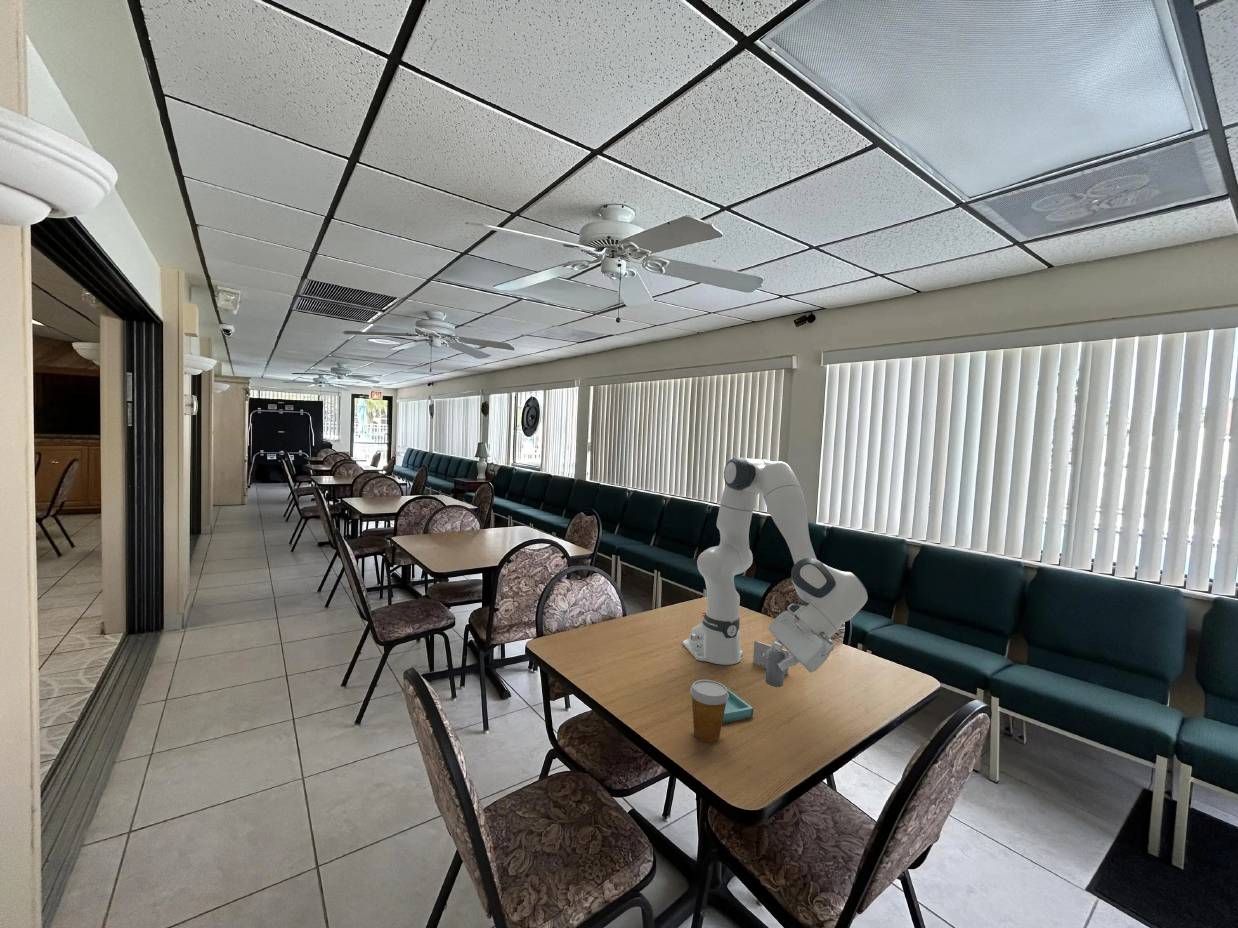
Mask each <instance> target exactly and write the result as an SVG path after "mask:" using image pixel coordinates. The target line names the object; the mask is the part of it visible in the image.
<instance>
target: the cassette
mask: <svg viewBox="0 0 1238 928" xmlns="http://www.w3.org/2000/svg"><path fill="white" fill-rule="evenodd" d="M771 645H772V644H768V643H764V642H761V641H758V640H755V641H754V642H753V654H752V655H753V656H752V664H754V665H757V666H758V667H761V668H764V669H766V668H767V659H768V654H767V653H766V652H767V651H768V650H769V649H770V648H771ZM782 651H783V652H784V654H785V656H786V659H787V658H789V657H788V656H789V655H790V654H791V653H790V652H789V651H788V650H787V649H784V648H782ZM788 674H789V667H787V668H786V669H785V673H784V675H788Z"/></svg>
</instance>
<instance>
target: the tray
mask: <svg viewBox="0 0 1238 928" xmlns="http://www.w3.org/2000/svg"><path fill="white" fill-rule="evenodd" d="M727 692H728V694H729V698H728V700H727V701H726V706H725V711H724V716H723V722H722V724H726V723H731V722H735V721H740V720H745V719H748V718H749V719H751V718H753V716H754V707H752V706H751V705H750V704H749V703H748V702H746V701H745V700H743V699H742V698H741V697H739V695H737V694H735V693H734V692H733V691H731V690H730V689H729V688H727Z"/></svg>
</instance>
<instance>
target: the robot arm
mask: <svg viewBox="0 0 1238 928" xmlns="http://www.w3.org/2000/svg"><path fill="white" fill-rule="evenodd" d="M723 479H724V482H725V486H724V489H723V492H722V495H721V499H720V504H719V509H718V515H717V518H716V528H717V529H718V530H719V535H720V536H719V538H720V541H719V544H718V545H715V546H710V547H708V548H707V549H705V550H703V552H701V553H700V554H699V555H698V557H697V560H696V563H697V564H696V565H697V566H696V567H697V570H698V573H699V574H700V575H701V576H702V577H703V579H704V582H705V588H706V608H705V609H706V611H705V612H703V613H701V617H703V619H702V621H701V623H698V625H696V626H693V627H692V628H691V630H690V634H689V638H686V639H684V640H683V641H682V645H683V646H684V647H685V648H686V650H687V651H688V652H689V653H690V654H691V655H692V656H693V657H694V658H695V660H697V661H701V662H708V663H712V664H715V665H716V664H717V665H723V666H726V665H727V666H731V665H735V664H738V663H739V662H741V661H742V658H741V657H742V655H743V650H742V648H741V631H740V630H739V629H740V624H741V622H740V620H741V619H740V617H739V615H740V603H741V601H740V600H741V599H740V598H741V596H740V594H739V592H738V591H737V589H736V586H735V576H736V575H740V574H743V573H744V572H746V571H747V570H748V569H749V568H750V567H751V566H752V564H753V559H754V557H753V556H754V555H753V553H752V550H751V549H750V538H749V535H750V526H751V523H752V522H751V521H752V516H753V513H754V508H755V507H754V506H755V500H756V497H757V496H758V495H759V494H762V496H763V499H764V503H765V505H766V508H767V510H768V513H769V515H770V517H771V518H772V520H773V522H774V524H775V526H776V528H778V530H779V532H780V533H781V535H782V537H783V538H784V540H785V542H786V544H787V547H788V548H789V551H790V554H791V557H792V561H793V566H792V568H791V571H790V576H791V581H792V584H793V587H794V589H795V591H796V595H797V598H798V600H799V601H800V602H801V604H797V603H790V604H789V605H788V606H787V610H784V611H783V612H781V613H780V614H779V615H778V616H777V617H775V618H774V620H772V621H771V622H770V623H769V626H768V627H767V628H768V631H769V632H770V634H772V635H773V636H774V637H775V639H774V640H773V641H772V642H771V644H770V645H771V648H770V649H769V650H768V651H767V652H766V653H767V654H768V653H769V652H770V651H771V650H772V649H774V642H778V643H780V644H782V645H783V646H782V648H783V647H784V648H785V650H788V651H789V652H790V654H789V656H788V657H789V658H787V659H785V660H783V661H782V660H780V661H779V662H777V666H778V667H779V668H780V669H781V670H782V671H784V670H785V669H786V668H787V667H793V666H796V665H797V664H798V663H800V664H801V665H802V666H803V667H804V668H805V669H806V671H808V672H809V673H815V672H817V671H818V670H819V668H820V667H821V666H822V665H823V664H824V663H825V662H826V661H827V660H828V658H829V657H830V655H831V653H832V652H833V651H834V650H835V649H834V648H835V641H834V640H833V639H832V638H831V637H832V636H834V634H836V632H838V631H839V629H840V628H841V626H842V625H843V624H844V623H845V622H848V621H850V620H851V619H852V618H853V617H854V616H855V615H856V614H857V613H859V611H860V610H861V609H862V608H863V607H864V606H865V604H866V603H867V601H868V598H869V596H868V590H867V588H866V587H865V585H864V583H863V582H862V580H860V578H858V576H856V575H855V574H854V573H853V572H851V571H842V570H840V569H837V568H833V567H831V566H828V565H827V564H825V563H823V562H821V561H820V560H819V559H817V556H816V554H815V551H814V548H813V545H812V541H811V538H810V531H809V530H810V529H809V522H808V521H809V519H808V510H807V504H806V503H807V502H806V499H805V495H804V491H803V488H802V486H801V484H800V482H799V480H798V478H797V476H796V474H795V473H794V471H793V469H792V468H791V467H790V465H789V464H788V463H786V462H784V461H779V460H778V461H774V460H773V461H772V460H769V459H765V458H746V457H734V458H731V459H730V460H729V461H728V462H727V463H726V464H725V467H724V471H723ZM802 604H803V605H802Z"/></svg>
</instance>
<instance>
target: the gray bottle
mask: <svg viewBox="0 0 1238 928" xmlns="http://www.w3.org/2000/svg"><path fill="white" fill-rule="evenodd" d="M782 646H783V645H782V644H780V643H778V642H774V649H772V650H771V651H770V652H769V653H768V659H767V668H765V669H766V671H765V678H764V679H765V680H764V681H765V683H766V684H767V685H769V686H770V687H773V688H781V687H783V686H784V680H785V674H784V673H785V670H784V671H782V670H781V669H780V668H779V667H778V666H777V662H779V661H780V660H782V661H783V660H785V659H786V656H785V654H784V652H783V651H782V649H783V647H784V646H783V647H782Z"/></svg>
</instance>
